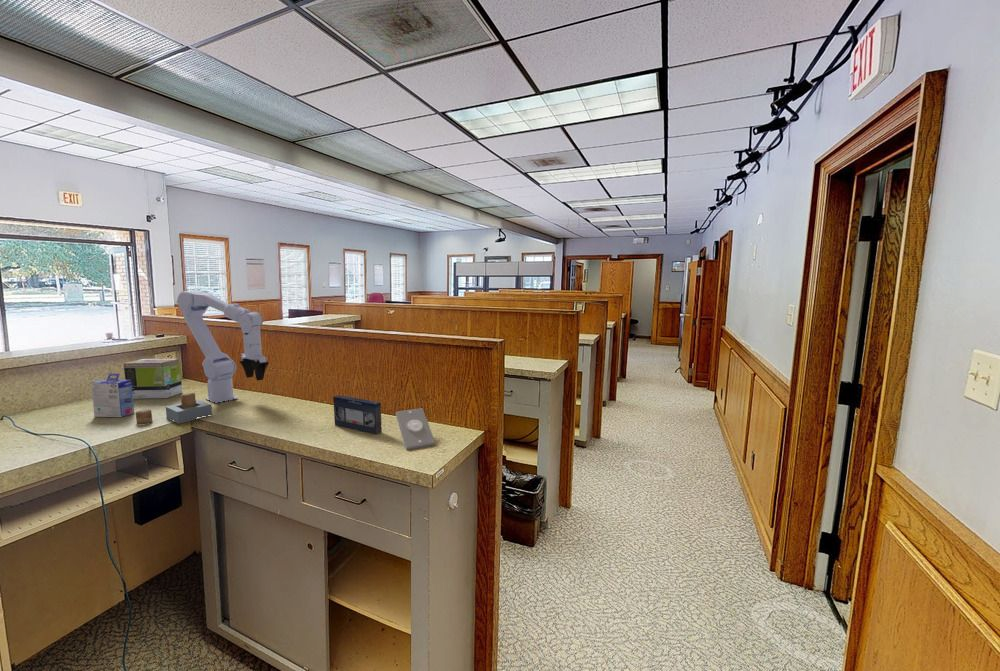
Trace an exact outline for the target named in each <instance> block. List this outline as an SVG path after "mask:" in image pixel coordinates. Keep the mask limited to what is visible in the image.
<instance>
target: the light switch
mask: <svg viewBox="0 0 1000 671" xmlns="http://www.w3.org/2000/svg"><path fill="white" fill-rule="evenodd" d="M395 416H396V421H397V423H398V424H397V425H398V427H399V432H400V434H401V437H402V441H403V444H404V448H405V450H406V451H409V450H414V449H415V450H417V449H421V448H426V447H427V448H428V447H432V446H435V445H436V441H435V439H434V436H433V433H432V430H431V428H430V425H429V421H428V419H427V417H426V413H425V411H424V408H423V407H422V408H421V407H420V408H414V409H412V408H411V409H407V410H399V411H396V412H395Z"/></svg>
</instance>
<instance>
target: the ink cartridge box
mask: <svg viewBox="0 0 1000 671" xmlns="http://www.w3.org/2000/svg"><path fill="white" fill-rule="evenodd" d="M113 376H115V377H113ZM119 377H120V373H109V374H108V376H107V378H106V379H103V380H98V381H94V382H91V393H92V404H93V416H94V417H95V418H122V417H125V416H129V415H133V414H135V407H134V399H133V394H132V384H131V380H125V379H119Z"/></svg>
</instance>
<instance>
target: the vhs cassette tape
mask: <svg viewBox="0 0 1000 671" xmlns="http://www.w3.org/2000/svg"><path fill="white" fill-rule="evenodd" d="M381 404H382V403H381V402H378V401H375V400H369V399H365V398H364V399H363V398H357V397H351V396H345V395H340V394H338V395H333V416H334V426H335V427H340V428H345V429H349V430H354V431H357V432H361V433H366V434H371V435H379V434H382V432H383V431H382V430H383V429H382V428H383V427H382V409H381V408H382V405H381Z"/></svg>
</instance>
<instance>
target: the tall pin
mask: <svg viewBox="0 0 1000 671" xmlns="http://www.w3.org/2000/svg"><path fill="white" fill-rule="evenodd" d="M196 399H197V398H196V394H195V392H188V393H183V394H180V404H181V405H182V409H185V408H190V407H195V406H196Z"/></svg>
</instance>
